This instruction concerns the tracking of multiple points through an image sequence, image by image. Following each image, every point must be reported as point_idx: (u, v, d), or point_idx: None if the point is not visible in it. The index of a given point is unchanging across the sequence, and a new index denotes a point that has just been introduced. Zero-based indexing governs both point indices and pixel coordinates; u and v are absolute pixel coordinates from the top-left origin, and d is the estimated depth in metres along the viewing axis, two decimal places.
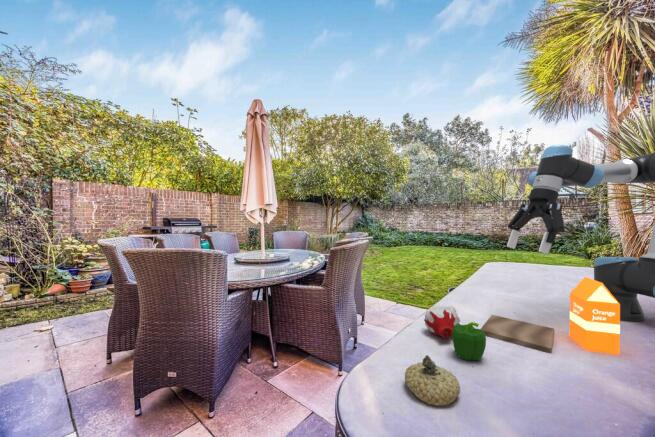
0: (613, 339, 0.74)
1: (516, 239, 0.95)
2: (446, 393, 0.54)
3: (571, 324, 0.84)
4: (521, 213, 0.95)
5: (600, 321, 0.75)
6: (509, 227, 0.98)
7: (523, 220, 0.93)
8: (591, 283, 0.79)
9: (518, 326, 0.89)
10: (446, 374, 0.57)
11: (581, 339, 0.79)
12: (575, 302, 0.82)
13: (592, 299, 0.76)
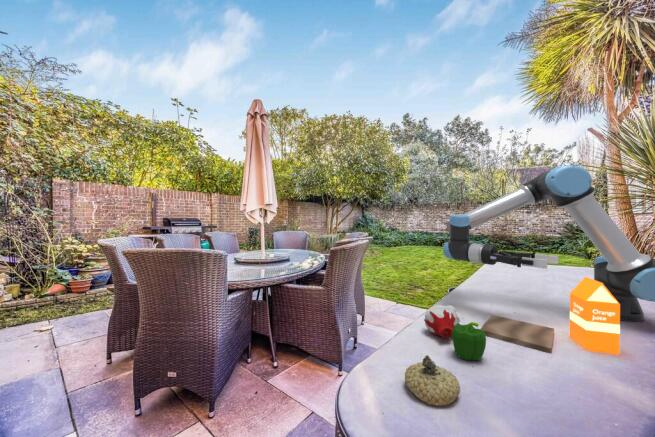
0: (613, 339, 0.74)
1: (545, 256, 0.93)
2: (446, 393, 0.54)
3: (571, 324, 0.84)
4: None
5: (600, 321, 0.75)
6: None
7: None
8: (591, 283, 0.79)
9: (518, 326, 0.89)
10: (446, 374, 0.57)
11: (581, 339, 0.79)
12: (575, 302, 0.82)
13: (592, 299, 0.76)
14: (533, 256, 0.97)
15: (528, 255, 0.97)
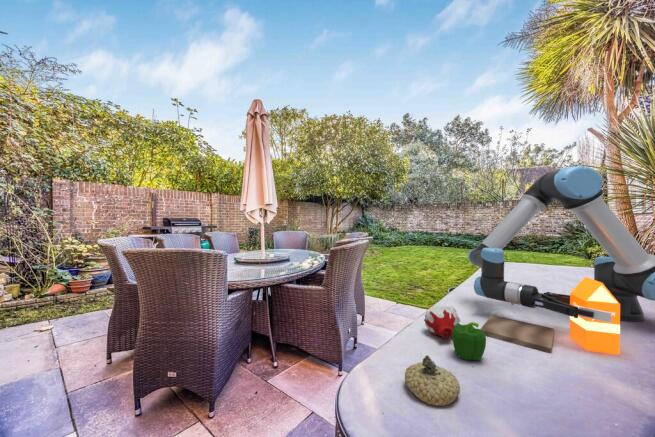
0: (613, 339, 0.74)
1: None
2: (446, 393, 0.54)
3: (571, 324, 0.84)
4: None
5: (601, 321, 0.75)
6: None
7: (566, 303, 0.87)
8: (591, 283, 0.79)
9: (518, 326, 0.89)
10: (446, 374, 0.57)
11: (581, 339, 0.79)
12: (575, 302, 0.82)
13: (592, 299, 0.76)
14: None
15: None
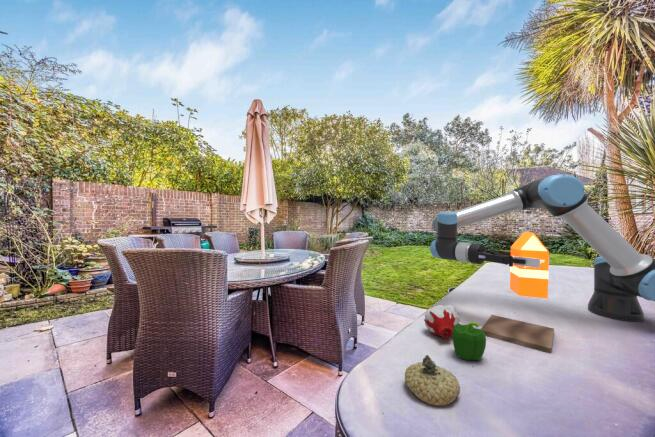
0: (542, 284, 0.81)
1: None
2: (446, 393, 0.54)
3: (511, 276, 0.90)
4: None
5: (532, 268, 0.82)
6: None
7: None
8: (526, 235, 0.85)
9: (518, 326, 0.89)
10: (446, 374, 0.57)
11: (516, 287, 0.85)
12: (513, 254, 0.88)
13: (525, 248, 0.83)
14: None
15: None
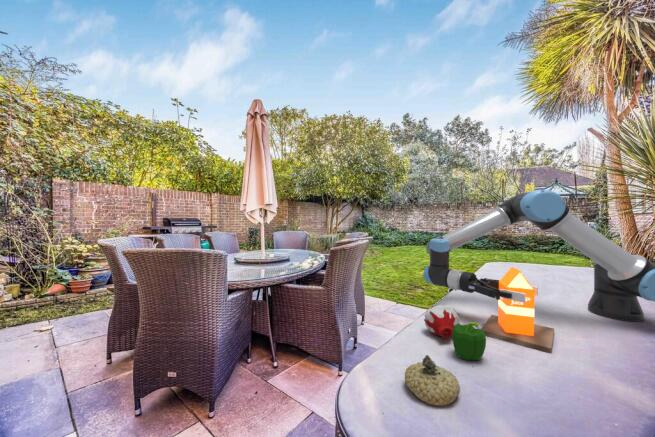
0: (528, 322, 0.82)
1: None
2: (446, 393, 0.54)
3: (499, 310, 0.91)
4: None
5: (518, 306, 0.83)
6: None
7: None
8: (514, 272, 0.87)
9: None
10: (446, 374, 0.57)
11: (503, 322, 0.86)
12: None
13: (512, 286, 0.84)
14: None
15: None
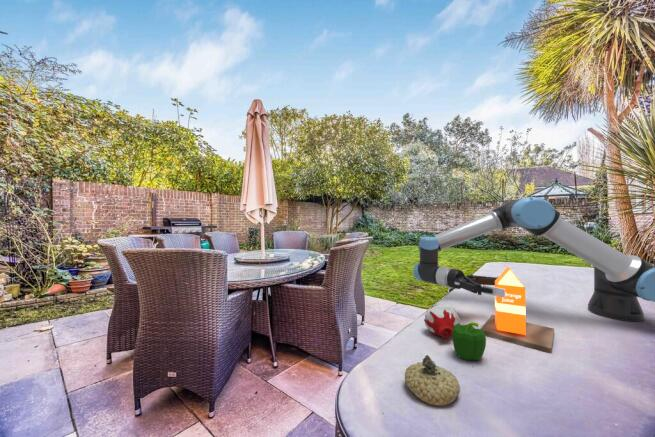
0: (520, 320, 0.82)
1: None
2: (446, 393, 0.54)
3: (495, 310, 0.92)
4: None
5: (509, 303, 0.84)
6: None
7: (484, 283, 0.99)
8: (506, 270, 0.88)
9: None
10: (446, 374, 0.57)
11: (496, 321, 0.87)
12: None
13: (502, 283, 0.85)
14: None
15: (492, 280, 0.98)
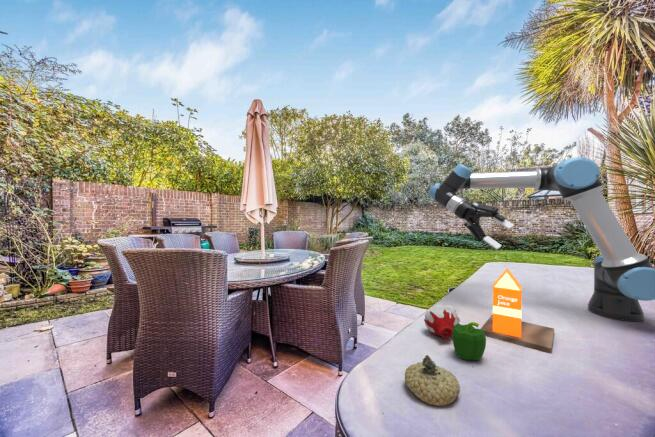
0: (516, 323, 0.82)
1: (493, 240, 1.10)
2: (446, 392, 0.54)
3: None
4: (471, 228, 1.15)
5: (505, 306, 0.83)
6: (480, 240, 1.14)
7: (477, 229, 1.12)
8: (504, 272, 0.87)
9: None
10: (446, 374, 0.57)
11: None
12: None
13: (499, 286, 0.85)
14: (484, 236, 1.12)
15: (483, 233, 1.12)
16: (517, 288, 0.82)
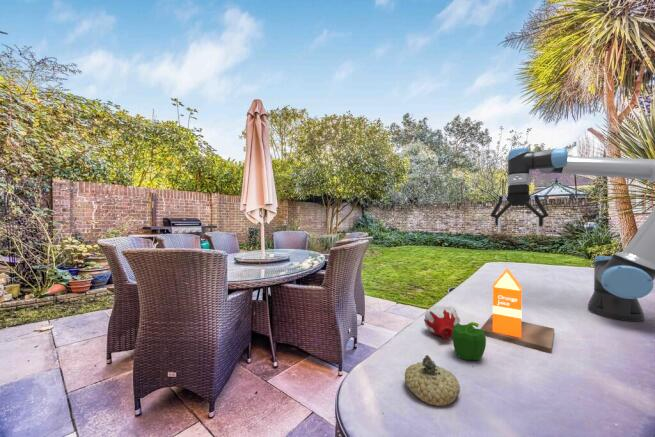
0: (516, 323, 0.82)
1: (500, 224, 1.19)
2: (446, 392, 0.54)
3: None
4: (500, 203, 1.18)
5: (505, 306, 0.83)
6: (493, 216, 1.19)
7: (506, 209, 1.16)
8: (504, 272, 0.87)
9: None
10: (446, 374, 0.58)
11: None
12: None
13: (499, 286, 0.85)
14: (498, 217, 1.19)
15: (501, 214, 1.18)
16: (517, 288, 0.82)
